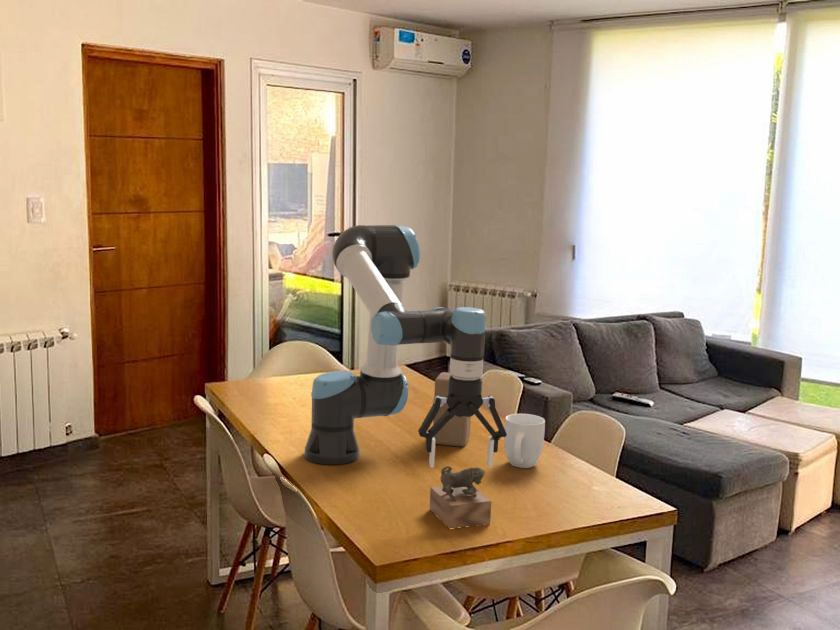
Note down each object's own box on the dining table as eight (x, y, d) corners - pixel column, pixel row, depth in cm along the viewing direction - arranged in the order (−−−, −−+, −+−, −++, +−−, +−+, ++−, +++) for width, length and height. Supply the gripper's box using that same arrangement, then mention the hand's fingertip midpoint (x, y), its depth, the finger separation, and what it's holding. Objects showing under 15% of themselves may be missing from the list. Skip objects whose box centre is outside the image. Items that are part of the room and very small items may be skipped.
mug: (536, 478, 227) (539, 430, 225) (495, 472, 231) (498, 425, 229) (545, 460, 242) (548, 416, 239) (507, 455, 245) (509, 411, 243)
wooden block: (465, 448, 250) (468, 381, 247) (431, 444, 252) (434, 378, 249) (470, 438, 260) (473, 373, 257) (437, 434, 262) (440, 371, 259)
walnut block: (450, 531, 192) (451, 505, 191) (429, 511, 203) (430, 487, 202) (490, 525, 196) (491, 500, 195) (467, 506, 207) (468, 482, 206)
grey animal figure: (447, 502, 193) (448, 470, 192) (434, 494, 198) (435, 463, 197) (492, 494, 199) (493, 464, 197) (478, 486, 204) (480, 456, 202)
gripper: (413, 379, 189) (409, 471, 192) (523, 381, 192) (517, 471, 196) (409, 371, 196) (405, 459, 200) (515, 372, 199) (509, 459, 203)
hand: (460, 465), depth 198 cm, fingers open, 13 cm apart
